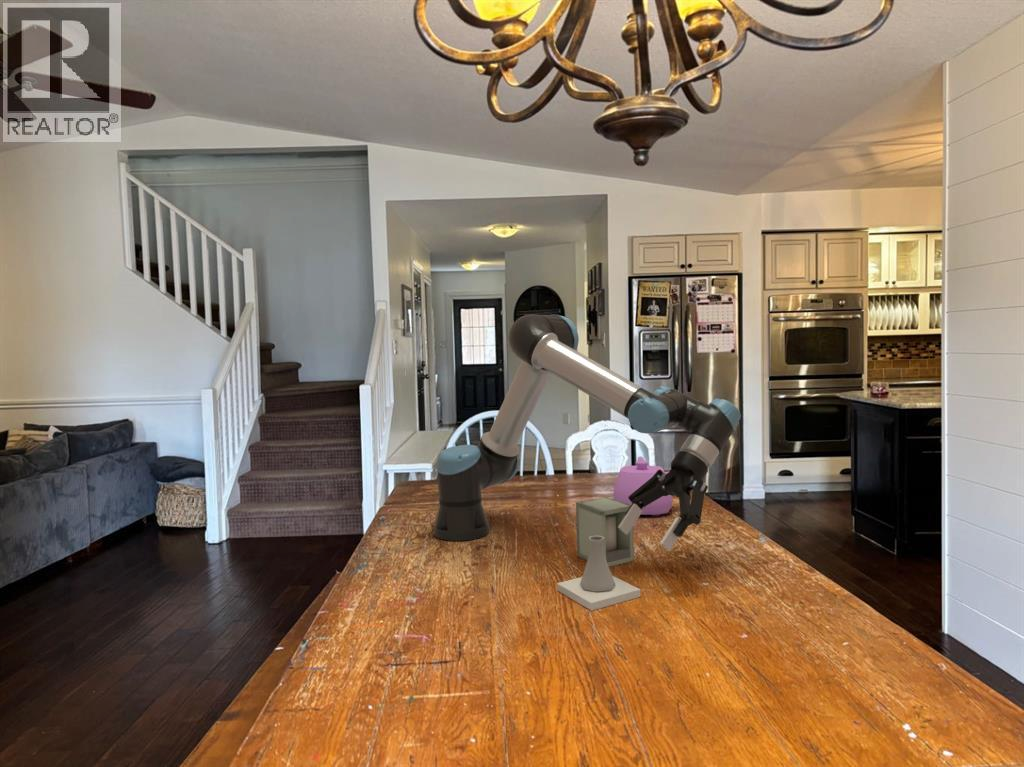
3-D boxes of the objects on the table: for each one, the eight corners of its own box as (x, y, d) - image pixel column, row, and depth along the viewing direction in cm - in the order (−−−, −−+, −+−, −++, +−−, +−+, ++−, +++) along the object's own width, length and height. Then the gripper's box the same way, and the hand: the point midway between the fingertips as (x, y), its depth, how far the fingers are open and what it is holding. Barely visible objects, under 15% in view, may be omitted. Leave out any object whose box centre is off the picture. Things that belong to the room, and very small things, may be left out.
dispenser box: (577, 556, 152) (575, 502, 151) (607, 549, 156) (606, 497, 155) (602, 568, 143) (601, 511, 142) (634, 560, 147) (632, 505, 146)
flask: (615, 593, 125) (614, 543, 124) (578, 592, 126) (577, 543, 125) (615, 579, 132) (614, 532, 131) (581, 578, 133) (579, 532, 132)
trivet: (557, 590, 131) (557, 583, 131) (603, 578, 137) (603, 571, 137) (591, 610, 121) (591, 603, 120) (640, 596, 126) (640, 589, 126)
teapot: (688, 519, 179) (687, 466, 178) (612, 518, 183) (611, 466, 182) (681, 499, 201) (681, 452, 200) (614, 498, 205) (613, 452, 204)
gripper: (747, 479, 130) (695, 565, 124) (664, 462, 152) (616, 534, 146) (728, 457, 128) (674, 544, 121) (646, 442, 149) (597, 515, 143)
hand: (642, 539), depth 134 cm, fingers open, 13 cm apart
